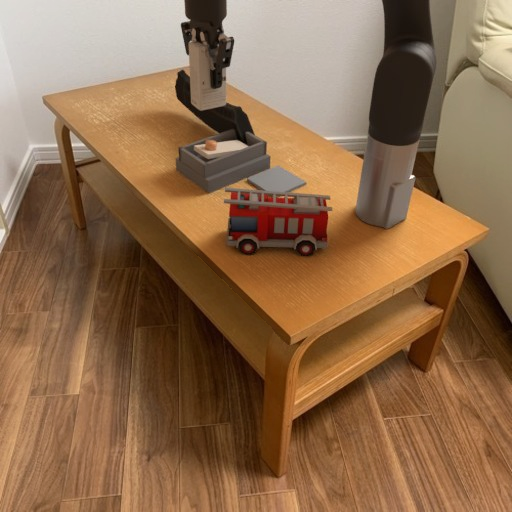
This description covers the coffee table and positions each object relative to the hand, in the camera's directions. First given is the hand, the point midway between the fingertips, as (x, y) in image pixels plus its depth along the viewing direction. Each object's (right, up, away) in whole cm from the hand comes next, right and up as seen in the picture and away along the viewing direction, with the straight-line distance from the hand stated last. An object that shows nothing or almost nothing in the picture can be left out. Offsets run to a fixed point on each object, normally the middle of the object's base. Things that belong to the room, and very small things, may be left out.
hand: (208, 83), depth 108 cm
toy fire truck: (+13, -31, -5) cm, 34 cm away
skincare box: (0, -4, +3) cm, 5 cm away
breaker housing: (+2, -15, +15) cm, 21 cm away
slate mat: (+14, -18, +11) cm, 25 cm away
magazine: (0, -2, +28) cm, 28 cm away
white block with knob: (+2, -11, +11) cm, 16 cm away
